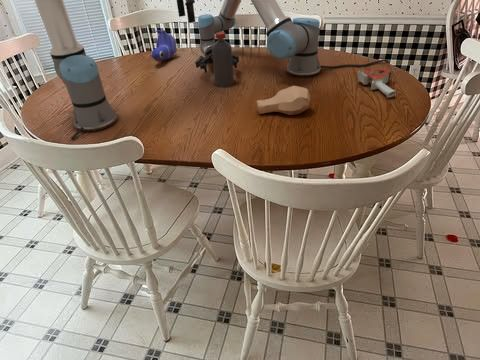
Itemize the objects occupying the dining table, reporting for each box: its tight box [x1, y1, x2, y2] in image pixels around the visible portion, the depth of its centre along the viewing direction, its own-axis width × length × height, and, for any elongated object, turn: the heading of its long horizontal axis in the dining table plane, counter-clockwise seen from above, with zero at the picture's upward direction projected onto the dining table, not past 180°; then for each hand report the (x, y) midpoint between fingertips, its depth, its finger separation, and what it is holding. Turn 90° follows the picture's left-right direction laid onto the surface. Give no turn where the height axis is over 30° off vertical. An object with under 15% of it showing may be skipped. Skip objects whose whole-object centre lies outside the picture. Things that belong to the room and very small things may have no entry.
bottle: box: [212, 38, 235, 88], centre depth 153 cm, size 8×8×21 cm
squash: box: [255, 85, 312, 116], centre depth 130 cm, size 11×20×9 cm, turn 92°
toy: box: [150, 29, 178, 66], centre depth 185 cm, size 10×17×25 cm
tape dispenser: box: [357, 66, 396, 99], centre depth 144 cm, size 18×5×20 cm
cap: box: [215, 31, 226, 40], centre depth 147 cm, size 4×4×2 cm
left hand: (186, 19), depth 147 cm, fingers open, 13 cm apart
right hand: (221, 67), depth 157 cm, fingers open, 13 cm apart
